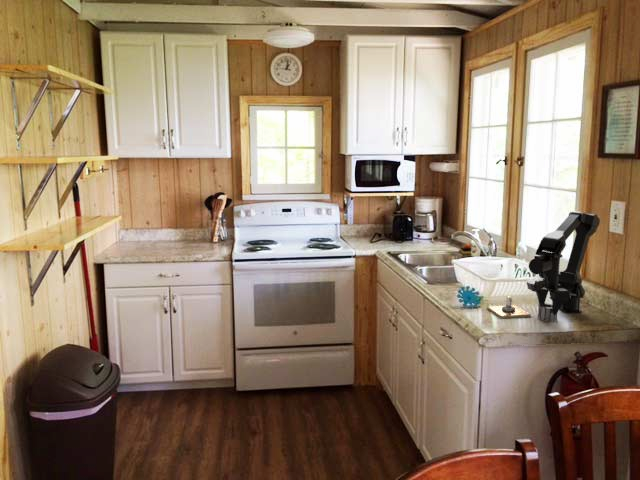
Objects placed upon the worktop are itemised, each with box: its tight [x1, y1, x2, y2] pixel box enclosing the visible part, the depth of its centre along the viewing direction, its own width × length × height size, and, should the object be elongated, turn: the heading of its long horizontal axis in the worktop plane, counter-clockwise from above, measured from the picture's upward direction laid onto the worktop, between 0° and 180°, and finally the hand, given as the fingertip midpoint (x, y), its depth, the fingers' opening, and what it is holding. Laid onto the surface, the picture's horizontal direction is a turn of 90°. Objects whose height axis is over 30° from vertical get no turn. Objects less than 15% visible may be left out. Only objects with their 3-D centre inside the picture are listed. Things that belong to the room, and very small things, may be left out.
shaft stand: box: [486, 296, 532, 319], centre depth 214 cm, size 12×12×6 cm
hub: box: [537, 302, 558, 322], centre depth 207 cm, size 7×7×5 cm
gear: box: [456, 285, 485, 309], centre depth 225 cm, size 11×6×10 cm
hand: (547, 310), depth 207 cm, fingers open, 9 cm apart
